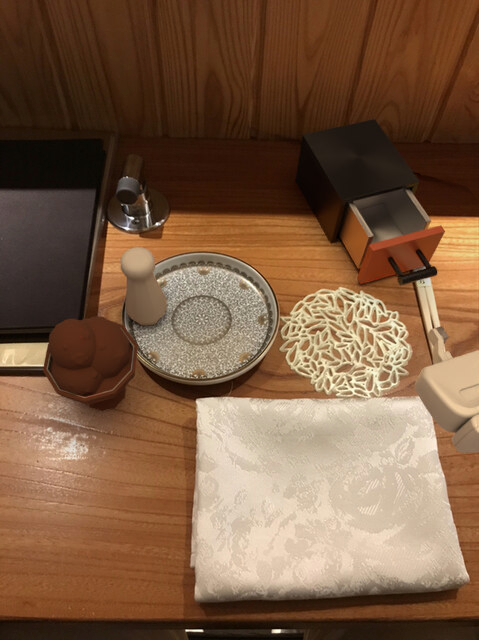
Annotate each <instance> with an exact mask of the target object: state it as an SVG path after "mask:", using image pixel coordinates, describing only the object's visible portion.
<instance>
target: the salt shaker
mask: <svg viewBox="0 0 479 640" xmlns="http://www.w3.org/2000/svg"><path fill="white" fill-rule="evenodd" d="M120 270H121V272H122V273H123V275H124V276H125V277H126V288H125V289H126V291H125V303H124V304H125V312H126V314H127V315H128V317H129V318H130V319H131V321H134V322H136V323H138V324H139V325H141V326H143V327H144V326H151V325H152V326H153V325H156V324H157V323H158V322H159V321H160V319H161V318H163V316H165V313H166V311H167V309H168V301H167V297H166V295H165V293H164V291H163V289H162V287H161V286H160V283H159V281H158V279H157V278H156V276H155V274H154V271H155V270H156V259H155V256H154V254H153V253H152V252H151V250H150V249H147V248H146V247H140V246H135V247H132V248H129V249H127V250H126V251H124V252H123V254H122V256H121V257H120Z"/></svg>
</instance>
